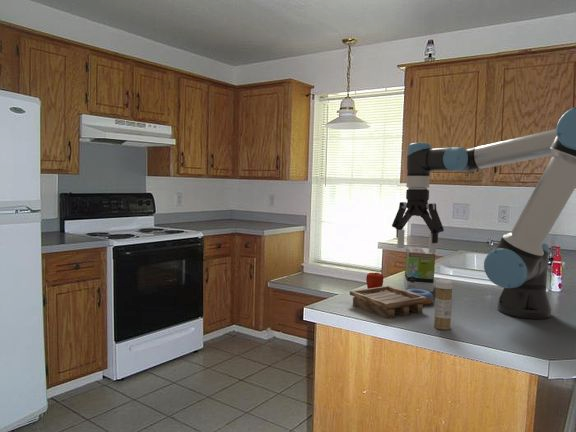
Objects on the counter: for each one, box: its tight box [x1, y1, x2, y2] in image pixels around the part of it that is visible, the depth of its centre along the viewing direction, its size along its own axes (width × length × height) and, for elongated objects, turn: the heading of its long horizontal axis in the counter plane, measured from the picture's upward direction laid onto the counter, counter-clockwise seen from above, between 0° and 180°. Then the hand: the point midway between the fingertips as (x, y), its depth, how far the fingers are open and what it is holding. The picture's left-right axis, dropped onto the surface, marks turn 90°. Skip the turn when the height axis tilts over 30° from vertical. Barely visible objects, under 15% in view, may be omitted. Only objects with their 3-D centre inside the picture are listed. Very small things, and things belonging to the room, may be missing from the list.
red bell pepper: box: [365, 272, 384, 293], centre depth 162 cm, size 6×6×8 cm
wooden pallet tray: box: [349, 285, 426, 320], centre depth 141 cm, size 17×17×5 cm
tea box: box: [404, 247, 436, 293], centre depth 172 cm, size 15×10×15 cm, turn 168°
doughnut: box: [405, 289, 434, 306], centre depth 151 cm, size 10×10×5 cm
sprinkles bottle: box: [433, 278, 454, 331], centre depth 123 cm, size 5×5×14 cm
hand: (415, 250), depth 152 cm, fingers open, 13 cm apart
